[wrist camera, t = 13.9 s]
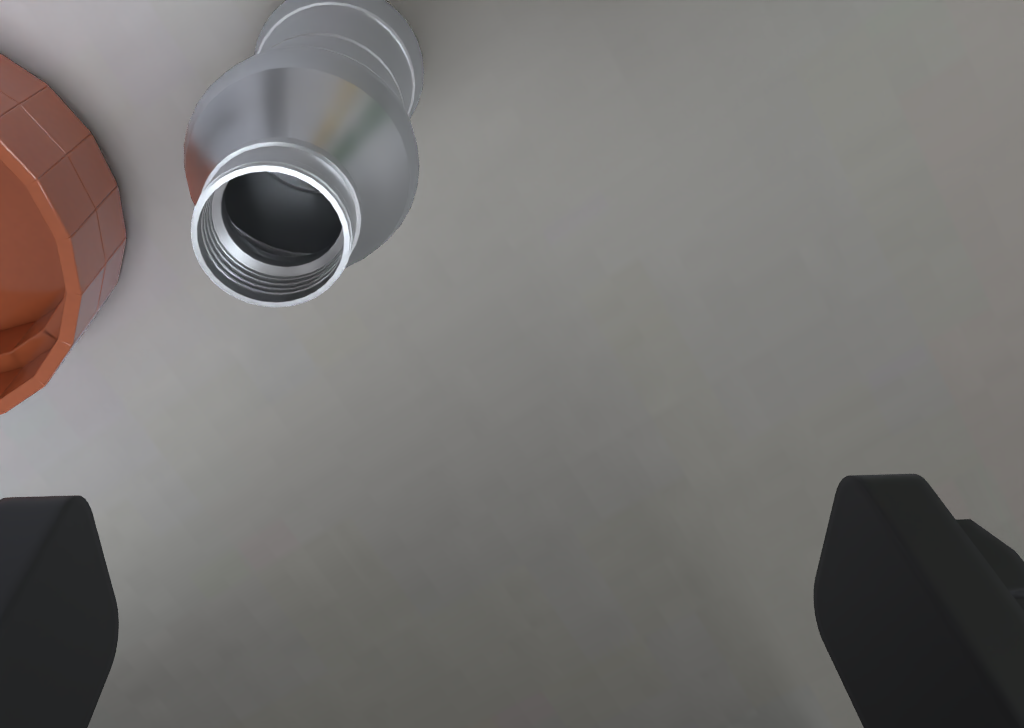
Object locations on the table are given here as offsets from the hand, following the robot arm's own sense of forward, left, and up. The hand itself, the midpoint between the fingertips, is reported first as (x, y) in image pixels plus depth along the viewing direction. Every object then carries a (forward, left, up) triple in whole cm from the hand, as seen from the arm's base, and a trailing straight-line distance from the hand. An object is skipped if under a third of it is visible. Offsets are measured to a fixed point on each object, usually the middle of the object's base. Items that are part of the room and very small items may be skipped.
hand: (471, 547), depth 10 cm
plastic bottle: (+1, -4, -33) cm, 33 cm away
